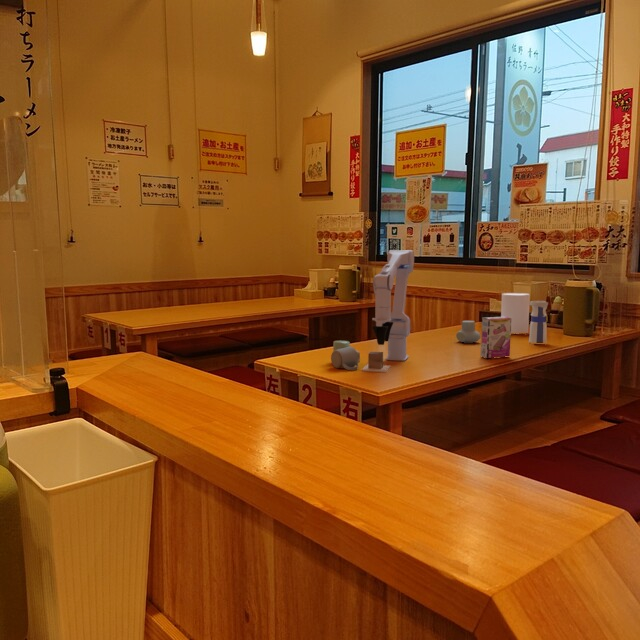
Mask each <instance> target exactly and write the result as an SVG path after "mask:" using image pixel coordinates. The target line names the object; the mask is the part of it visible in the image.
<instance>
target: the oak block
mask: <svg viewBox="0 0 640 640" xmlns="http://www.w3.org/2000/svg"><path fill="white" fill-rule="evenodd" d="M356 352H357V354H358V363H360V360H361V359H360V354H361V353H360V351H359V350H356Z"/></svg>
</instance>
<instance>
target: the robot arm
mask: <svg viewBox="0 0 640 640" xmlns="http://www.w3.org/2000/svg"><path fill="white" fill-rule="evenodd" d="M386 257H387V258H386V259H387V261H386V262H387V263H386V264H385V265H384V266H383V267H382V268H381V270H380V272H379V273H378V274H376V275H374V276H373V279H372V287H373V293H374V295H375V297H374V299H375V300H374V301H375V302H374V303H375V305H374V306H375V309H374V310H375V311H374V312H375V317H372V318H371V319H372V321H374V322H375V324H374V325H372V329H373V332H374V333H375V337H376V338H375V339H376V343H377V345H378V346H383V345H385V343H386V342H387V357H386V358H384V359H385V361H400V362H401V361H402V362H405V361H406V360H407V359H408V358H409V356H410V355H408V354H407V338H408V337H409V336H410V333H411V318H410V317H409V315H407V314H405V308H406V298H407V289H408V287H407V286H408V279H409V274H410V273H412V272H413V271H414V268H415V267H414V266H415V265H414V264H415V254H414V251H413V250H412V249H410V250H409V249H405V250H404V249H403V250H401V249H399V250H398V249H397V250H395V249H393V250H392V249H390V250H388V252H387V256H386ZM394 282H395V284H394ZM393 287H394V294H393V302H392V290H393ZM392 303H393V304H392Z"/></svg>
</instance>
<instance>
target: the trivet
mask: <svg viewBox="0 0 640 640" xmlns="http://www.w3.org/2000/svg"><path fill="white" fill-rule="evenodd" d="M390 368H391V365H386V364H385V365H384V364H383V367H382V368H381V369H372V368H368V363H367V364H366V365H364V367H363V368H361V372H377V373H386V372H388V370H389V369H390Z"/></svg>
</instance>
